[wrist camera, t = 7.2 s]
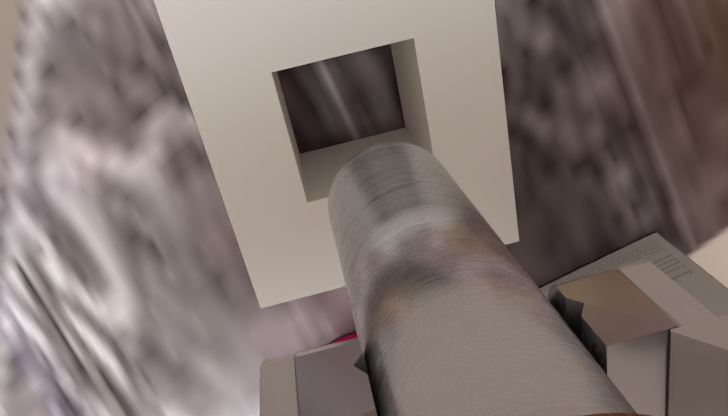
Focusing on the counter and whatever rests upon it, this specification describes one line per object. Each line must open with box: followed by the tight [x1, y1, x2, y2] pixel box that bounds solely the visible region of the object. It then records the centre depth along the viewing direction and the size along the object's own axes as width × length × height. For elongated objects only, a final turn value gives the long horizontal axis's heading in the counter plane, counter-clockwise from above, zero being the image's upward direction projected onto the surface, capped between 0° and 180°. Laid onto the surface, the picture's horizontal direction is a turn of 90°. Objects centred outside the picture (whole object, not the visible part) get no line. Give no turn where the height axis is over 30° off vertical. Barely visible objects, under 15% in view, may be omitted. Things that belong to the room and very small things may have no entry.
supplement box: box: [539, 233, 728, 317], centre depth 26 cm, size 7×7×13 cm
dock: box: [154, 0, 519, 308], centre depth 22 cm, size 10×12×5 cm
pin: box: [328, 142, 651, 416], centre depth 10 cm, size 4×4×10 cm
